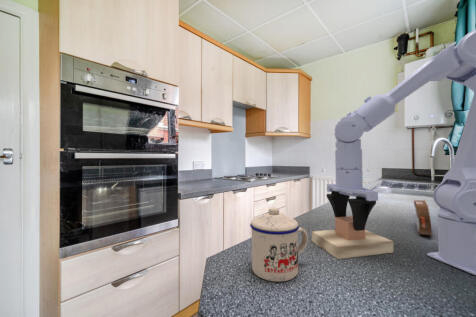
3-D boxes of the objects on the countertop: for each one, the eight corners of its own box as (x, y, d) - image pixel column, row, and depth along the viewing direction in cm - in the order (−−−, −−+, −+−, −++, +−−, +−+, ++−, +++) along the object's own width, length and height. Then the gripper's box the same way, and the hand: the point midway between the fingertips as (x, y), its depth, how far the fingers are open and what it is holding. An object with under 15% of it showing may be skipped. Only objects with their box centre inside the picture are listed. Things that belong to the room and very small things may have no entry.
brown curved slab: (432, 240, 54) (432, 207, 54) (416, 237, 56) (416, 205, 56) (426, 225, 66) (426, 198, 66) (413, 223, 68) (413, 197, 68)
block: (365, 238, 49) (365, 221, 49) (348, 240, 48) (347, 222, 48) (351, 232, 53) (351, 216, 53) (335, 233, 53) (335, 217, 53)
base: (393, 252, 47) (393, 241, 47) (337, 258, 44) (337, 246, 44) (359, 236, 57) (359, 227, 57) (311, 241, 54) (311, 231, 54)
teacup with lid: (264, 288, 35) (263, 216, 35) (243, 263, 43) (243, 205, 43) (323, 274, 39) (322, 209, 39) (293, 253, 47) (293, 201, 47)
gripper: (316, 168, 57) (317, 218, 57) (356, 170, 43) (357, 237, 43) (339, 167, 59) (340, 217, 59) (386, 169, 44) (387, 235, 44)
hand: (349, 225), depth 51 cm, fingers open, 6 cm apart
